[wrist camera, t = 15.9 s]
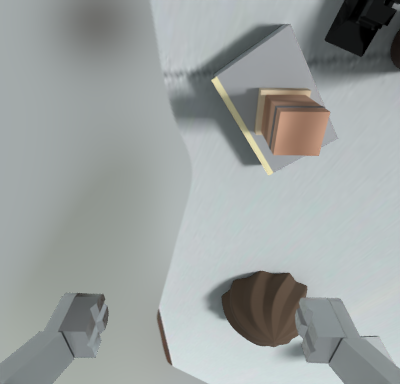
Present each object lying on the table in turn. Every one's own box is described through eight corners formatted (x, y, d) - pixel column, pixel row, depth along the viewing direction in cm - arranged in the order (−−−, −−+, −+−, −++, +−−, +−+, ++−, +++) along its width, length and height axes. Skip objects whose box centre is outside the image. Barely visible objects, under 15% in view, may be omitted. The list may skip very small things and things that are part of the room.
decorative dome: (230, 265, 55) (235, 308, 46) (322, 275, 56) (343, 320, 47) (214, 318, 65) (215, 362, 56) (292, 327, 66) (304, 371, 58)
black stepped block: (357, 69, 35) (376, 75, 31) (309, 49, 34) (322, 52, 30) (429, -49, 28) (464, -61, 25) (372, -79, 27) (399, -96, 24)
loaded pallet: (254, 131, 36) (267, 159, 28) (259, 87, 33) (275, 106, 25) (298, 131, 36) (323, 160, 28) (307, 88, 33) (337, 106, 25)
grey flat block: (210, 76, 35) (211, 80, 32) (283, 24, 32) (291, 24, 29) (264, 166, 42) (268, 175, 39) (329, 131, 39) (338, 138, 36)
